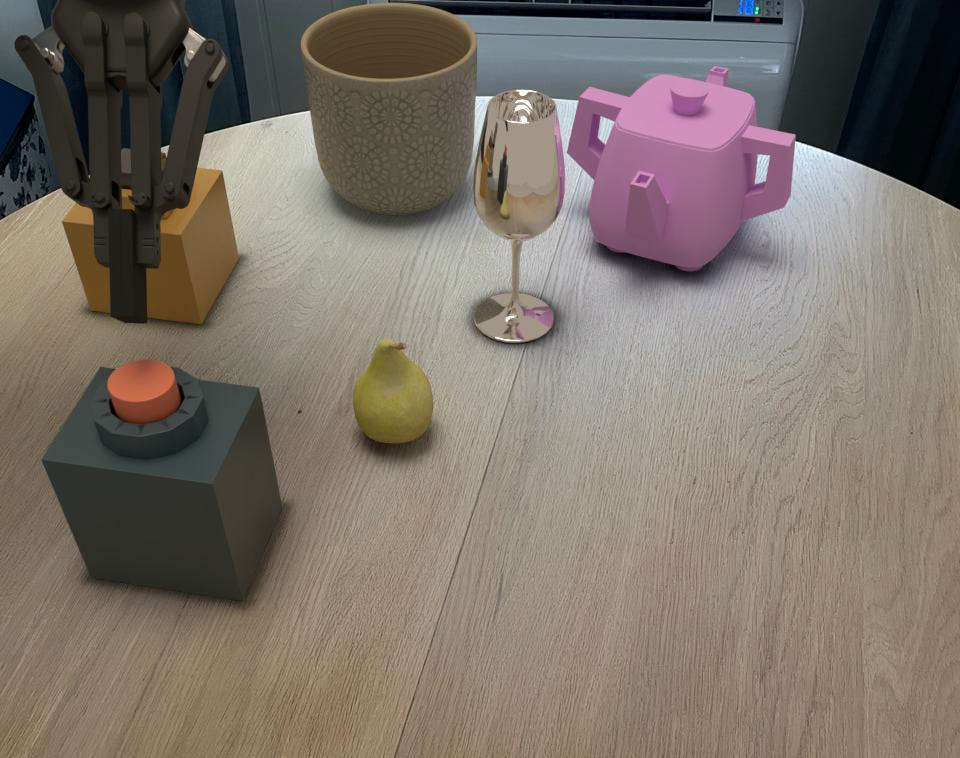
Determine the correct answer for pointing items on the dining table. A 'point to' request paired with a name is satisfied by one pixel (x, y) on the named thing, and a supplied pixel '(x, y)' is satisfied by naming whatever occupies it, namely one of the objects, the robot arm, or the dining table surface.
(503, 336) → the wineglass
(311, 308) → the dining table surface
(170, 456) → the button box
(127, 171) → the button
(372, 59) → the planter
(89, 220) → the push-button base
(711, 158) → the teapot
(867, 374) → the dining table surface
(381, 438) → the fruit
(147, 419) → the red button
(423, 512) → the dining table surface
